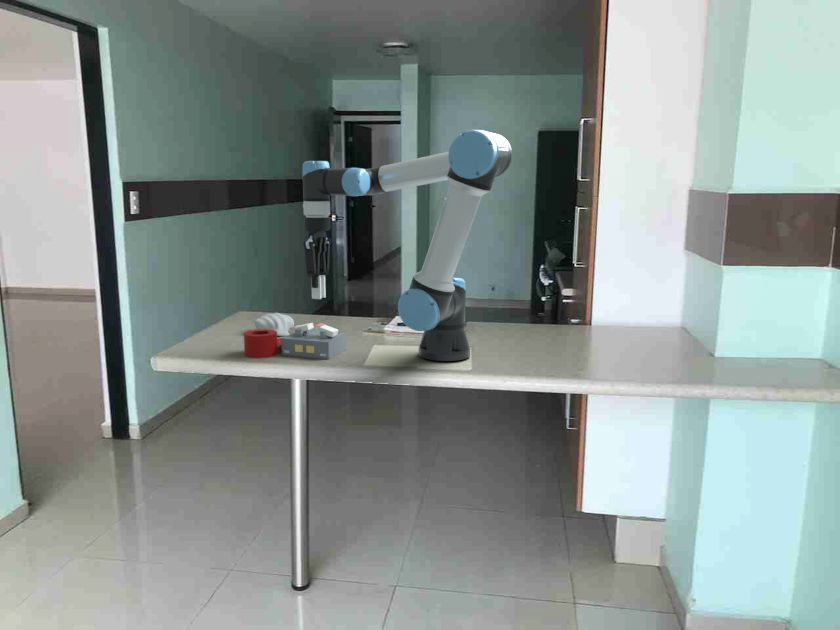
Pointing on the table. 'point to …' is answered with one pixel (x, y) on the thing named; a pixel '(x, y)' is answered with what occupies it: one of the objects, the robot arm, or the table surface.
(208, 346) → the table surface
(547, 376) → the table surface
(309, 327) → the rocker
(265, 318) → the shell shaped sculpture
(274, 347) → the lever
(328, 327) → the rocker
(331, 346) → the panel
